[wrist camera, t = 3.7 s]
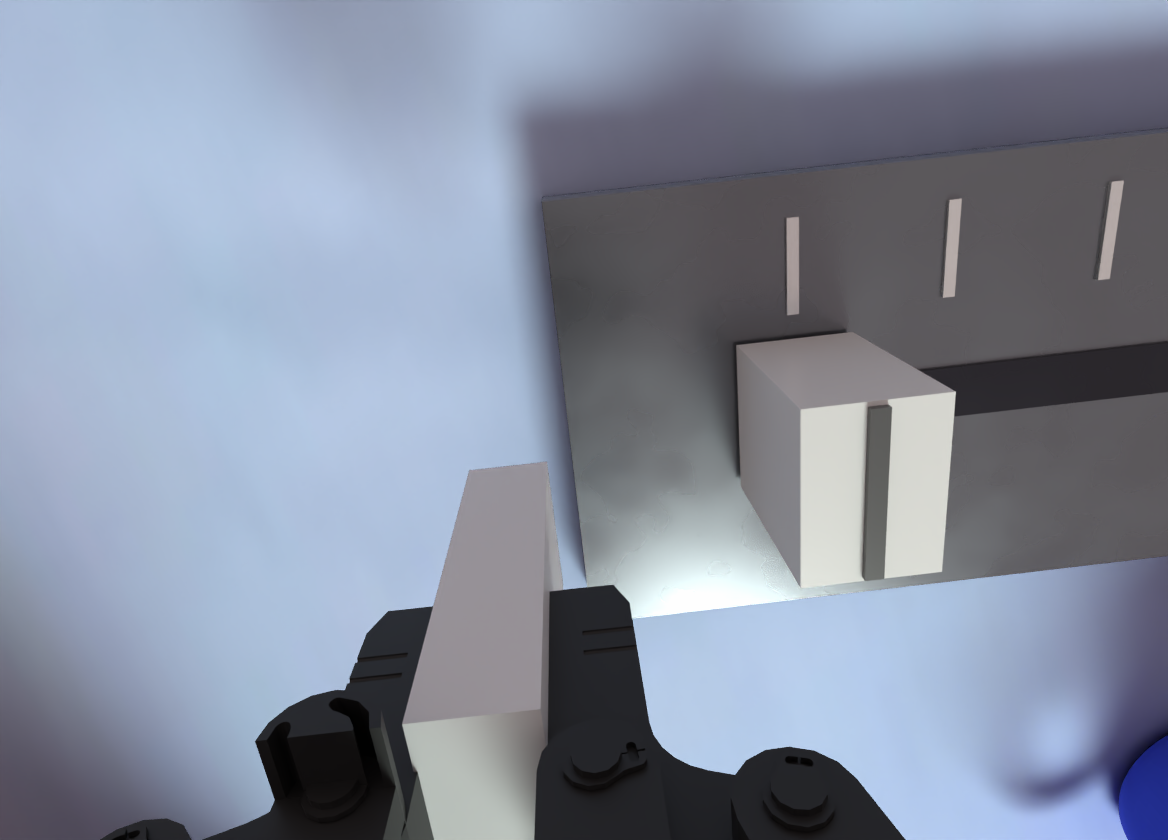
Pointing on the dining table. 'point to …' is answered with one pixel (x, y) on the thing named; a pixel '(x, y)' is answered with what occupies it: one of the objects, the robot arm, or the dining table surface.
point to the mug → (1146, 795)
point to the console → (888, 320)
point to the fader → (845, 457)
